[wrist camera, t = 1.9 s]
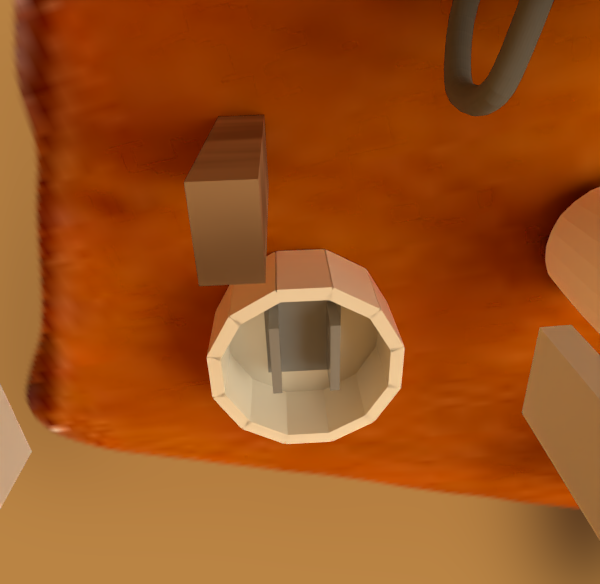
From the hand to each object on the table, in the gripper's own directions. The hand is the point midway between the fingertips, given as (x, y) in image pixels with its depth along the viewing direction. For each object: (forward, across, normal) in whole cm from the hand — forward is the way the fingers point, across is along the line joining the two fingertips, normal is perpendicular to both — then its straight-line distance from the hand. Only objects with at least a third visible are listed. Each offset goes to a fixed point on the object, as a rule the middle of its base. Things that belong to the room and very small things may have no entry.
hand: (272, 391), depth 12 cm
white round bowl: (+19, +1, -11) cm, 22 cm away
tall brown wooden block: (+19, -2, +1) cm, 19 cm away
